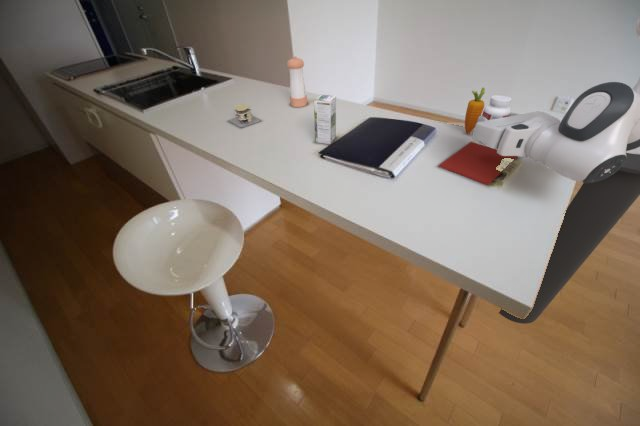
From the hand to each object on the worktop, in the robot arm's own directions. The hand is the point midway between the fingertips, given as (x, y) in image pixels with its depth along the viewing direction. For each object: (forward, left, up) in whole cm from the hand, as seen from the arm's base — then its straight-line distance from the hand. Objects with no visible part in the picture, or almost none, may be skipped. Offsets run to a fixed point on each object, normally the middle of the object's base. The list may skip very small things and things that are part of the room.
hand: (491, 116), depth 76 cm
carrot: (-16, -10, -14) cm, 23 cm away
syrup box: (+20, -43, -14) cm, 50 cm away
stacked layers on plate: (+30, -80, -14) cm, 87 cm away
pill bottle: (0, +1, -6) cm, 6 cm away
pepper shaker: (+3, -78, -14) cm, 80 cm away
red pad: (0, +1, -13) cm, 13 cm away
